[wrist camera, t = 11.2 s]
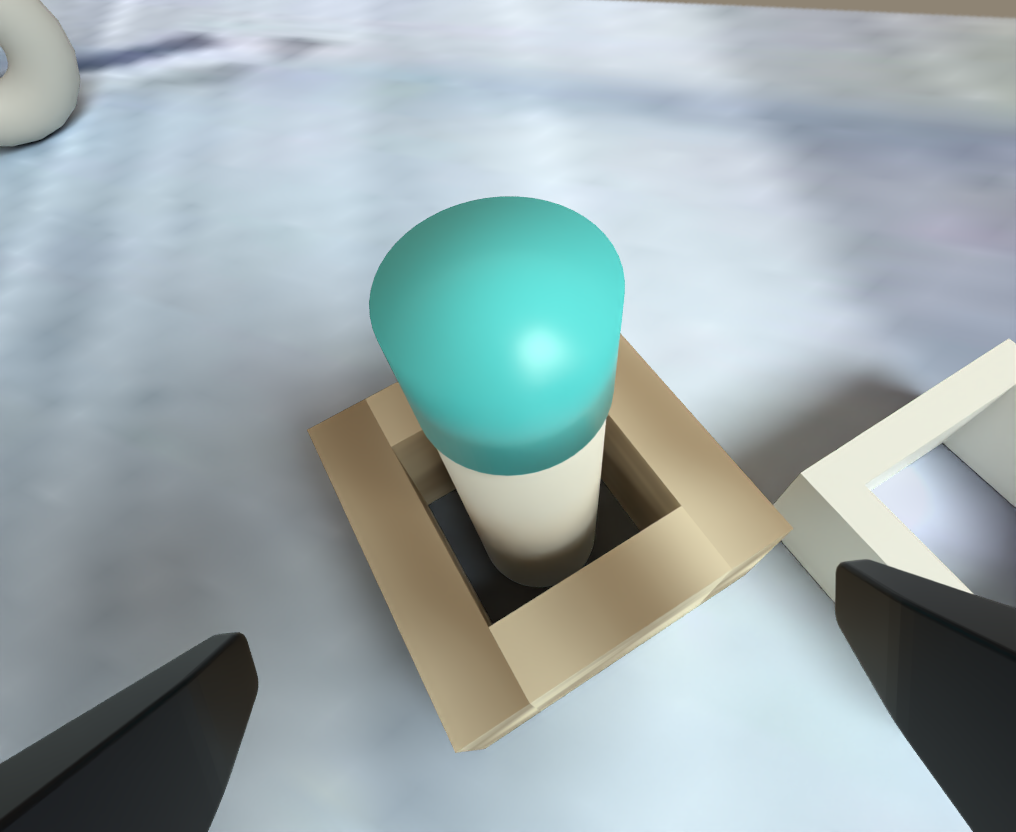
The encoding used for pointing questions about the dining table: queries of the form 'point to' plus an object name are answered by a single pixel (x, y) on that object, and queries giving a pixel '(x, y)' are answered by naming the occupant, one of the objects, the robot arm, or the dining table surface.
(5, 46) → the donut
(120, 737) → the robot arm
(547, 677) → the socket block
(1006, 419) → the holster
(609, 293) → the plug
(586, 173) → the dining table surface
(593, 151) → the dining table surface
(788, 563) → the dining table surface
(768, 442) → the dining table surface
